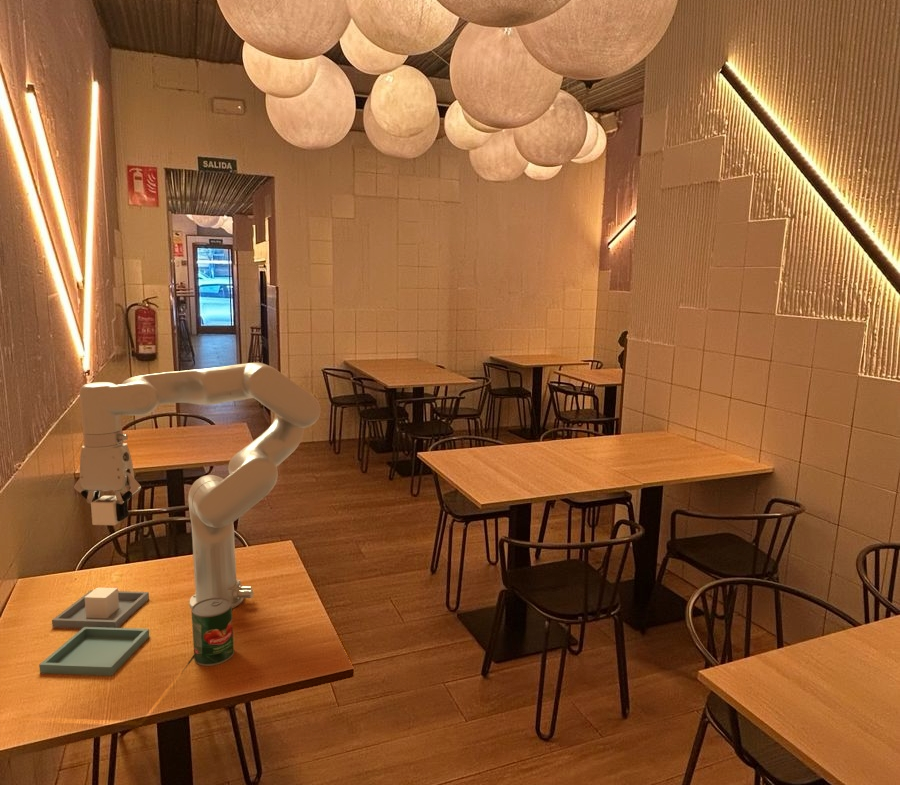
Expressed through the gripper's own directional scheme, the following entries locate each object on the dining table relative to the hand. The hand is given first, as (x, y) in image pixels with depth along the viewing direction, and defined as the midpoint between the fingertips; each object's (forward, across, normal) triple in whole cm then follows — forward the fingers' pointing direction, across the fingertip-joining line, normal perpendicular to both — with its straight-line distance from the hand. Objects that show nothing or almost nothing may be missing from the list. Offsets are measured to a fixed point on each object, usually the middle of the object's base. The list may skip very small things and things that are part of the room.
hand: (109, 518), depth 144 cm
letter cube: (+1, 0, 0) cm, 1 cm away
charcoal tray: (+25, +6, -4) cm, 26 cm away
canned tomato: (+26, -27, +11) cm, 39 cm away
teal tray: (+25, -3, +13) cm, 29 cm away
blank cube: (+25, +6, -4) cm, 26 cm away
